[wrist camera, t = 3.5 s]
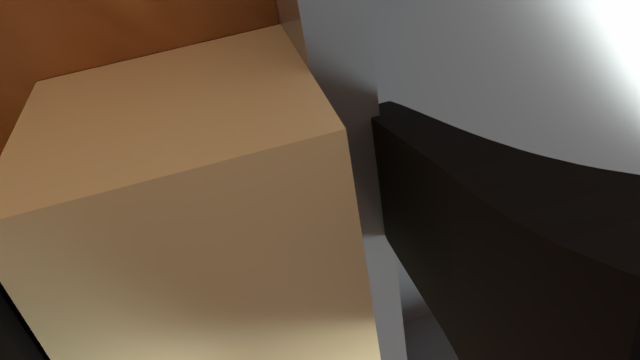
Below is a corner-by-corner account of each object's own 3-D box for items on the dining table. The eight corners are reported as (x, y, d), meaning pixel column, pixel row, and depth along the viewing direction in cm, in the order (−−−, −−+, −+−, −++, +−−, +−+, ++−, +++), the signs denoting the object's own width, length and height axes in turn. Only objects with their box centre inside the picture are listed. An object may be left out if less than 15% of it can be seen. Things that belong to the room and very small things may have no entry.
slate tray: (346, 350, 16) (374, 428, 14) (215, -302, 8) (234, -347, 6) (727, 232, 17) (805, 288, 15) (928, -421, 9) (1147, -492, 7)
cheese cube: (123, 267, 13) (109, 450, 9) (36, 81, 10) (-35, 227, 6) (318, 213, 13) (381, 365, 9) (280, 24, 11) (346, 128, 7)
